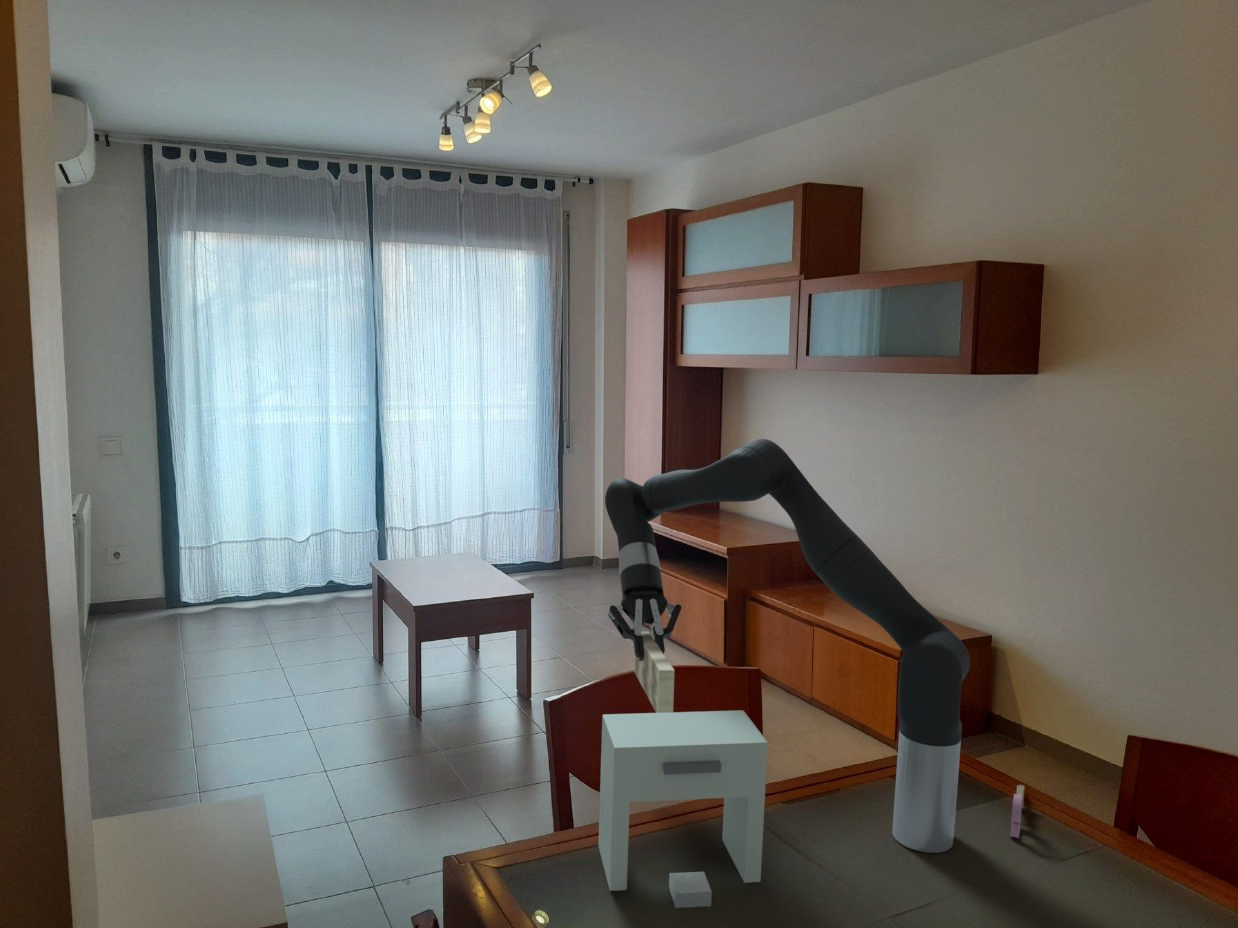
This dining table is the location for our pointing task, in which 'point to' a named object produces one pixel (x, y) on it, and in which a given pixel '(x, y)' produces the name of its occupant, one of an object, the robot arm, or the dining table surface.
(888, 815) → the dining table surface
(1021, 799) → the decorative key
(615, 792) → the desk
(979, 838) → the dining table surface
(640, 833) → the dining table surface
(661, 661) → the beech blade
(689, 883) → the block
